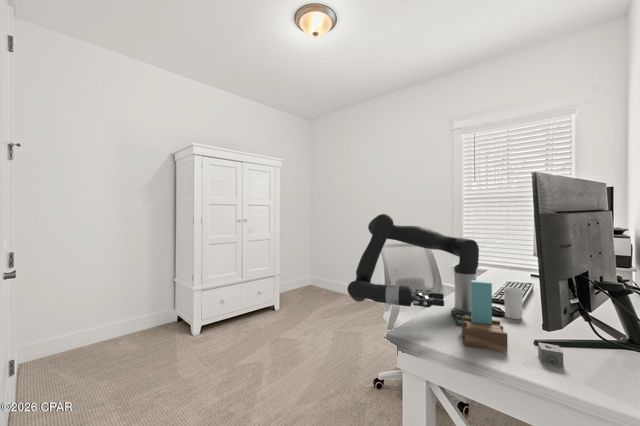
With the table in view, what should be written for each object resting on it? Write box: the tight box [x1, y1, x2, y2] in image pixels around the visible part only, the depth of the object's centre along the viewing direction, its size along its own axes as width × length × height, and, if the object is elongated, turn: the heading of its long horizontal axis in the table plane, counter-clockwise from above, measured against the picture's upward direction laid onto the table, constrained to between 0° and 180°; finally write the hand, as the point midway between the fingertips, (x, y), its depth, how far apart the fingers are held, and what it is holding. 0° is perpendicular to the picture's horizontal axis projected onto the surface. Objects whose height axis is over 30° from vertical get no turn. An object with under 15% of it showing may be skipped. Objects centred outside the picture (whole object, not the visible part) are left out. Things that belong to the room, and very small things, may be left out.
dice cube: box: [537, 342, 564, 368], centre depth 85 cm, size 5×5×5 cm
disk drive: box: [450, 310, 471, 327], centre depth 118 cm, size 10×3×15 cm
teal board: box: [471, 279, 493, 324], centre depth 101 cm, size 3×6×20 cm, turn 68°
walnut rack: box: [461, 316, 509, 354], centre depth 98 cm, size 12×12×7 cm
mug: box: [503, 286, 524, 320], centre depth 126 cm, size 10×7×12 cm, turn 170°
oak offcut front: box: [467, 325, 504, 332], centre depth 95 cm, size 2×10×6 cm, turn 68°
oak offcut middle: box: [467, 323, 501, 329], centre depth 97 cm, size 2×10×6 cm, turn 68°
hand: (443, 299), depth 106 cm, fingers open, 8 cm apart
